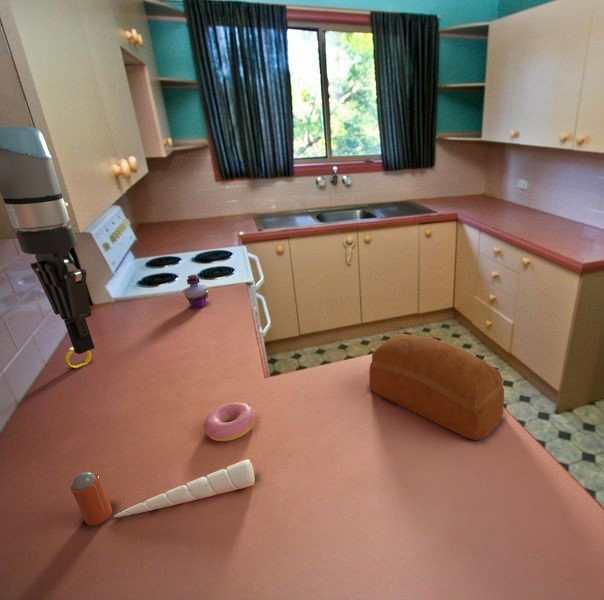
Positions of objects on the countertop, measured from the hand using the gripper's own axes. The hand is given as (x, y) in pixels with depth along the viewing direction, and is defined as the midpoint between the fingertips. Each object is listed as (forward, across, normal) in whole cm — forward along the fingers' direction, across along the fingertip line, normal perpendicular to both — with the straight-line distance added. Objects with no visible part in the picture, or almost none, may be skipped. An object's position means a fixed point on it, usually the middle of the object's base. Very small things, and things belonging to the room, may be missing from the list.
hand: (84, 350), depth 80 cm
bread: (+23, -53, -44) cm, 73 cm away
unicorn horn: (+25, -24, +1) cm, 35 cm away
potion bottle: (+25, +50, -61) cm, 82 cm away
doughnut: (+25, -16, -16) cm, 33 cm away
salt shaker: (+25, -12, +11) cm, 30 cm away
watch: (+25, +46, -17) cm, 55 cm away
